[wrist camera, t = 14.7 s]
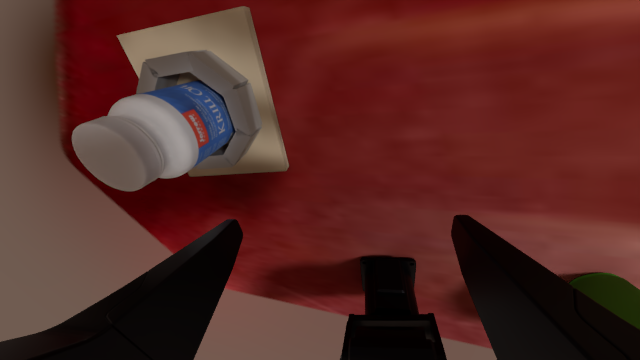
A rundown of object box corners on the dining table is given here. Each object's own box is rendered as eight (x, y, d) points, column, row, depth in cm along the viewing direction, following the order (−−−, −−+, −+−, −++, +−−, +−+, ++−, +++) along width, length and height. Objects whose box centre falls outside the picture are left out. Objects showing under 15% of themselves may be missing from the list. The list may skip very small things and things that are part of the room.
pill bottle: (255, 118, 20) (179, 175, 12) (219, 150, 22) (136, 217, 14) (205, 62, 18) (74, 84, 10) (172, 104, 20) (45, 150, 12)
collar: (289, 166, 23) (278, 184, 20) (195, 172, 25) (173, 189, 22) (249, 7, 16) (224, 1, 14) (127, 35, 19) (84, 35, 16)
